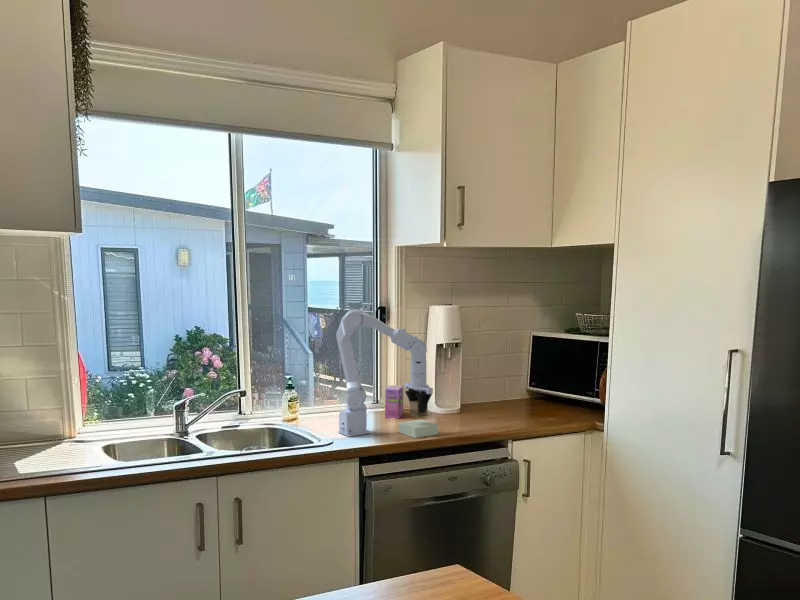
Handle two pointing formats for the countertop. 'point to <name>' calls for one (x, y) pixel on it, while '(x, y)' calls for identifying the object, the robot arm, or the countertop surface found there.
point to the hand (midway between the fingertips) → (418, 411)
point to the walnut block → (417, 409)
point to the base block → (418, 428)
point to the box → (394, 401)
